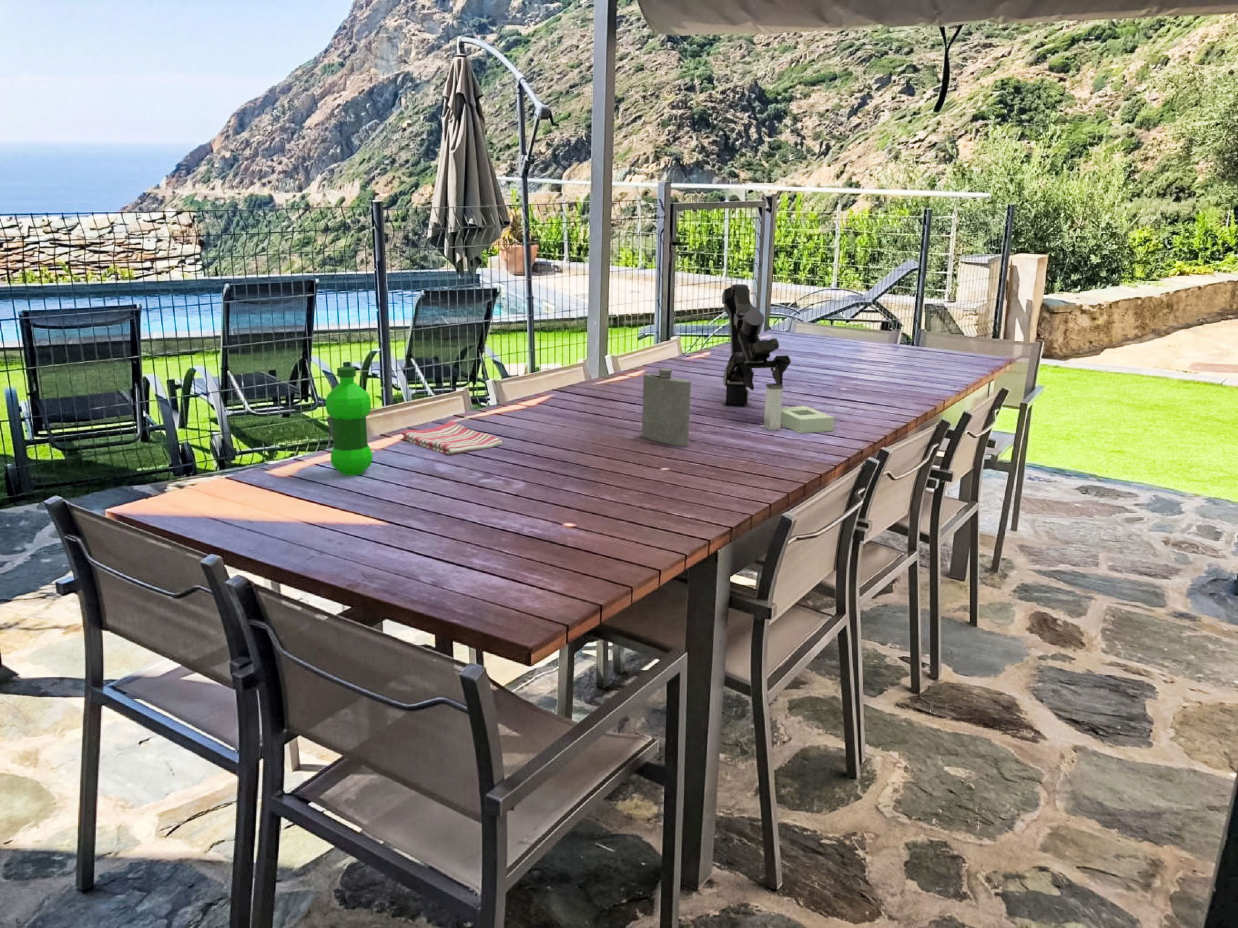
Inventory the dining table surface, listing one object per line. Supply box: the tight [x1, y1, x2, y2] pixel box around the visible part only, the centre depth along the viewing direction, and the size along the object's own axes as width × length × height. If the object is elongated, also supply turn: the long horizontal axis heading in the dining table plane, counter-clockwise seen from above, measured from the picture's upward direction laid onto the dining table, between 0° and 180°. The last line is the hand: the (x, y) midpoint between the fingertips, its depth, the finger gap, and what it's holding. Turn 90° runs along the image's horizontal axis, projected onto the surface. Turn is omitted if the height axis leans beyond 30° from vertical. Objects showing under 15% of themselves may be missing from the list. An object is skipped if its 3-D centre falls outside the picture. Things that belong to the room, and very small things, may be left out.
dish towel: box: [401, 420, 503, 456], centre depth 255 cm, size 17×23×4 cm
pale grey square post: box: [763, 382, 784, 431], centre depth 275 cm, size 4×4×13 cm
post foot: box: [781, 405, 835, 434], centre depth 281 cm, size 16×11×4 cm
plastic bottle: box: [325, 366, 373, 476], centre depth 224 cm, size 10×10×25 cm
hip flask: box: [641, 367, 692, 447], centre depth 259 cm, size 16×4×20 cm, turn 46°
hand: (767, 388), depth 278 cm, fingers open, 9 cm apart
